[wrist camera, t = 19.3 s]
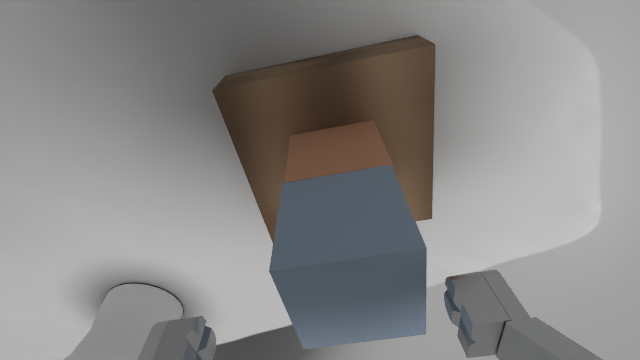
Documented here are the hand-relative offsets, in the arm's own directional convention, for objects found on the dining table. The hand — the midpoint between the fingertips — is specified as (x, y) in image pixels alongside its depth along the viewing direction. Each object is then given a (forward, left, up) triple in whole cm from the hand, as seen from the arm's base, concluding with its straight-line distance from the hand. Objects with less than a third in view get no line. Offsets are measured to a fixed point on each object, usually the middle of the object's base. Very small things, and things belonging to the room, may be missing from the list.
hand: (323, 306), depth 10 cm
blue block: (+1, -1, -6) cm, 6 cm away
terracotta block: (+1, -1, -11) cm, 11 cm away
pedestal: (+1, -1, -14) cm, 14 cm away
